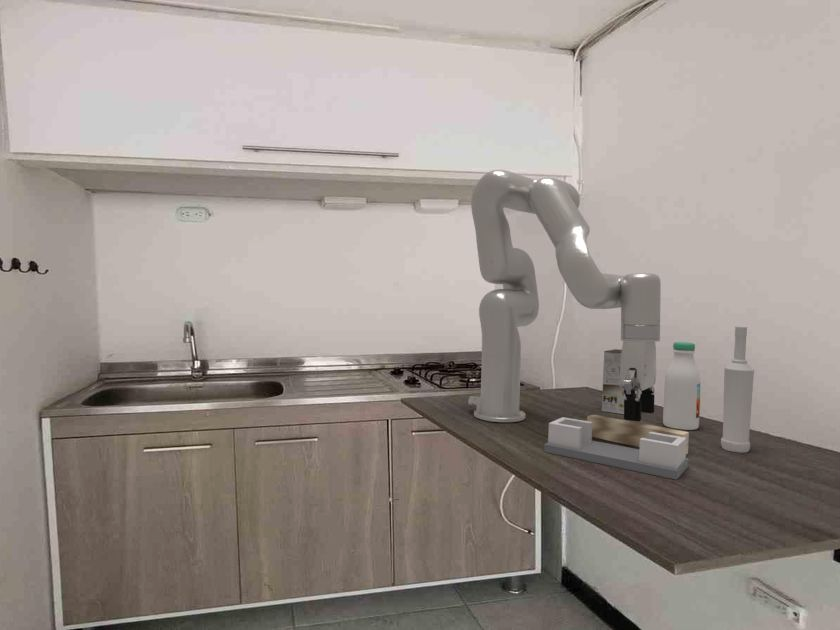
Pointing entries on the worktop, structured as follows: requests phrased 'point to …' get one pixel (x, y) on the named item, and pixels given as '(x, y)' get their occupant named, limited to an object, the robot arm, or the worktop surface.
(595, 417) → the slat
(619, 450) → the grey holder stand
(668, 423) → the milk bottle
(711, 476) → the worktop surface
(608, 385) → the coffee box
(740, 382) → the bottle
